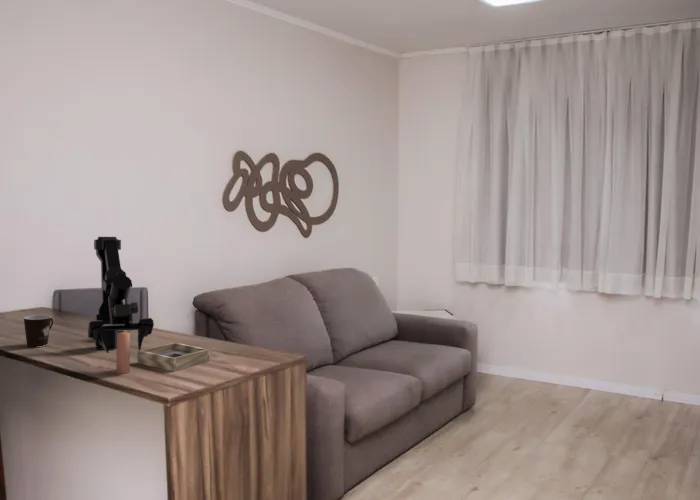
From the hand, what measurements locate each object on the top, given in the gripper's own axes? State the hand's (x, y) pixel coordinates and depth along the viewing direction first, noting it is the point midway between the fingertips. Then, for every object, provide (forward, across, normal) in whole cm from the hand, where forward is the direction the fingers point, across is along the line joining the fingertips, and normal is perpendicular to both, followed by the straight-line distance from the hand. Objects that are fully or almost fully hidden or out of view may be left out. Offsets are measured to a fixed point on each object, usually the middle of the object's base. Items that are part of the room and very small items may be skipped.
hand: (123, 350), depth 188 cm
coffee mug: (-28, -20, +38) cm, 51 cm away
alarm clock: (-30, +7, +40) cm, 51 cm away
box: (-1, +17, +11) cm, 20 cm away
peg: (+4, 0, +6) cm, 7 cm away
